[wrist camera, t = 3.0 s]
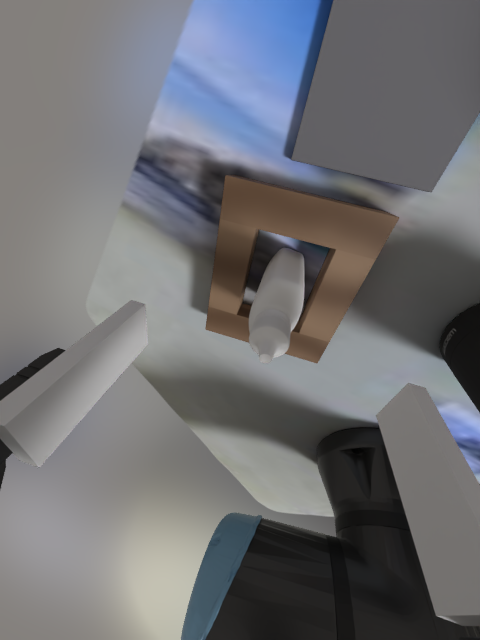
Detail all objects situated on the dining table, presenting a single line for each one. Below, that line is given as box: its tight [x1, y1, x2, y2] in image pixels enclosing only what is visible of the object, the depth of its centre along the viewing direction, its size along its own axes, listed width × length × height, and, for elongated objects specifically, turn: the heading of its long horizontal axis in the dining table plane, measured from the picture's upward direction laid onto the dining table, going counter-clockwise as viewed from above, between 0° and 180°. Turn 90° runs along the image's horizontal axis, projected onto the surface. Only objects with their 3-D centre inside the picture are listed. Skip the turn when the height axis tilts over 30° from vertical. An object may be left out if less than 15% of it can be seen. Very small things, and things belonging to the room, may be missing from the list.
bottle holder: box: [206, 175, 399, 363], centre depth 21 cm, size 14×12×2 cm
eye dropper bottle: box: [249, 248, 305, 364], centre depth 17 cm, size 4×6×12 cm
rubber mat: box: [291, 0, 480, 192], centre depth 13 cm, size 10×10×1 cm
